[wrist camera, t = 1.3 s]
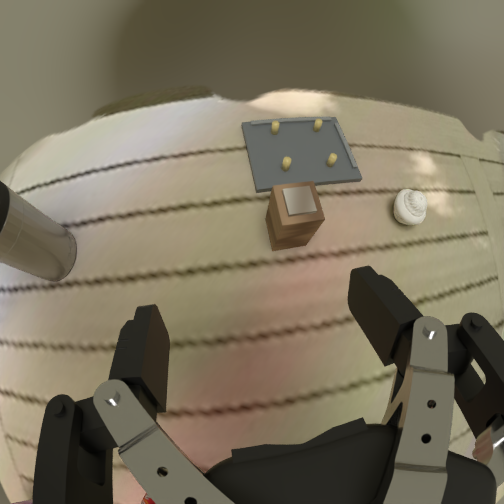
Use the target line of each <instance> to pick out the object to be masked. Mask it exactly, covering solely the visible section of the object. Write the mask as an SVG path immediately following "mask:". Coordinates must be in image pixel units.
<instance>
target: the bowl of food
mask: <svg viewBox="0 0 504 504" xmlns="http://www.w3.org/2000/svg"><path fill="white" fill-rule="evenodd" d="M11 504H33V499H32V500H27V501H22V502H16V503H11Z"/></svg>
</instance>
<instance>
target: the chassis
mask: <svg viewBox="0 0 504 504" xmlns="http://www.w3.org/2000/svg"><path fill="white" fill-rule="evenodd" d="M242 130H243V134H244V139H245V143H246V148H247V152H248V156H249V161H250V165H251V170H252V174H253V179H254V184H255V188H256V193H259V192H266V191H272V186H274V185H282V184H290V183H299V182H308V181H314V184H315V185H325V184H335V183H346V182H358V181H361V180H362V176H361V174H360V171H359V169H358V166H357V164H356V161H355V159H354V157H353V154H352V152H351V149H350V147H349V145H348V143H347V140H346V138H345V136H344V134H343V132H342V129H341V127H340V125H339V123H338V121H337V119H336V117H299V118H281V119H268V120H257V121H251V122H243V123H242Z"/></svg>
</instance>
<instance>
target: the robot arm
mask: <svg viewBox="0 0 504 504" xmlns="http://www.w3.org/2000/svg"><path fill="white" fill-rule="evenodd" d="M75 257H76V243H75V239H74V237H73V235H72V234H71V233H70V232H69V231H68V230H66V229H65V228H63V227H62V226H60V225H59V224H58V223H56V222H55V221H53V220H52V219H51V218H49V217H48V216H46V215H45V214H44V213H42V212H41V211H39V210H38V209H37V208H35V207H34V206H33V205H31V204H30V203H28V202H27V201H26V200H24V199H23V198H22V197H21V196H19V195H18V194H16V193H15V192H14V191H13V190H11V189H10V188H9V187H7V186H6V185H5V184H4V183H2V182H1V181H0V262H1V263H4V264H6V265H9V266H11V267H14V268H17V269H19V270H22V271H24V272H27V273H30V274H32V275H35V276H38V277H40V278H43V279H46V280H49V281H58V280H60V279H62V278H64V277H65V276H66V275H67V274H68V273H69V271H70V270H71V268H72V266H73V264H74V261H75ZM348 306H349V309H350V311H351V313H352V315H353V316H354V318H355V319H356V321H357V322H358V324H359V326H360V327H361V329H362V330H363V332H364V333H365V335H366V337H367V338H368V340H369V341H370V343H371V345H372V346H373V348H374V350H375V351H376V353H377V355H378V356H379V358H380V359H381V361H382V363H383V364H384V366H388V365H390V364H393V363H395V365H396V366H397V368H396V370H395V374H394V379H393V384H392V389H391V393H390V398H389V402H388V406H387V410H386V412H385V415H384V417H383V419H382V422H381V424H366V423H365V421H364V419H363V417H362V418H359V419H357V420H354V421H351V422H348V423H345V424H342V425H339V426H336V427H333V428H331V429H330V430H328V431H326V432H324V433H322V434H321V435H319V436H317V437H315V438H313V439H311V440H310V441H308V442H306V443H303V444H298V445H270V444H264V445H259V446H253V447H246V448H240V449H232V450H231V451H232V457H230V458H228V459H225V460H223V461H221V462H219V463H218V464H216V465H215V466H213V467H212V468H211V469H209V470H208V471H207V472H206V473H204V472H203V471H202V470H201V469H200V468H199V467H198V466H197V465H196V464H195V463H194V462H193V461H192V460H191V459H190V458H189V457H188V456H187V455H186V454H185V453H184V452H183V451H182V450H181V449H180V448H179V447H178V446H177V445H176V444H175V443H174V441H173V440H172V439H171V438H170V437H169V436H168V435H167V434H166V432H165V431H164V430H163V429H162V428H161V427H160V425H159V424H158V423H157V422H156V418H157V413H161V412H166V400H167V379H168V363H169V350H170V340H169V335H168V332H167V329H166V327H165V324H164V322H163V319H162V317H161V315H160V312H159V310H158V307H157V306H156V305H155V304H153V305H146V306H139V307H137V309H136V312H135V316H134V320H128V321H127V322H126V324H125V325H124V326H123V328H122V329H121V331H120V335H119V338H118V342H117V346H116V350H115V354H114V358H113V362H112V366H111V370H110V374H109V379H108V381H106V382H104V383H102V384H101V385H100V386H99V387H98V388H97V389H96V391H95V393H94V396H93V397H90V398H87V399H83V400H80V401H77V402H74V401H73V399H72V398H70V397H69V396H68V395H64V394H61V395H57V396H55V397H53V398H52V399H51V400H50V401H49V403H48V404H47V406H46V409H45V414H44V418H43V423H42V428H41V433H40V438H39V444H38V450H37V457H36V465H35V474H34V485H33V504H113V486H112V461H113V448H116V447H119V448H120V449H119V450H118V453H119V455H120V457H121V459H122V460H123V462H124V463H125V464H126V466H127V467H128V469H129V470H130V472H131V473H132V474H133V476H134V477H135V478H136V480H137V481H138V482H139V484H140V485H141V486H142V488H143V489H144V490H145V491H146V493H147V494H148V495H149V496H150V497H151V499H152V500H153V501H154V502H155V503H156V504H495V502H496V491H497V487H498V486H500V485H501V484H502V483H503V482H504V341H503V339H502V338H501V337H500V336H499V334H498V333H497V332H496V331H495V329H494V328H493V327H492V326H491V325H490V323H489V322H488V321H487V320H486V319H485V318H484V317H483V316H481V315H480V314H477V313H467V314H465V315H464V316H463V318H462V320H461V322H460V324H454V325H444V324H443V323H442V322H441V321H440V320H439V319H437V318H434V317H430V316H423V315H422V314H421V313H420V312H419V310H418V309H417V308H416V307H415V306H414V305H413V304H412V302H411V301H410V300H409V299H408V298H407V297H406V296H405V295H404V293H403V292H402V291H401V290H400V289H398V287H397V286H396V285H395V283H394V282H393V281H392V280H390V279H389V278H387V277H385V276H383V275H378V274H377V273H376V272H375V271H374V270H373V269H372V267H370V266H364V267H360V268H355V269H352V271H351V274H350V283H349V291H348ZM473 359H475V360H476V362H477V363H478V365H479V366H480V368H481V369H482V371H483V372H484V374H485V377H486V383H485V385H484V383H483V382H482V380H481V379H480V377H479V375H478V374H477V372H476V371H475V369H474V368H473V366H472V365H471V362H472V361H473ZM454 399H455V400H456V402H457V404H458V406H459V408H460V409H461V411H462V413H463V415H464V417H465V419H466V421H467V423H468V425H469V427H470V428H471V430H472V432H473V434H474V436H475V438H476V442H475V449H474V450H473V453H472V455H473V457H474V458H475V459H477V461H476V460H473V459H470V458H467V457H464V456H462V455H459V454H456V453H454V452H451V451H449V450H448V448H449V441H450V434H451V426H452V416H453V404H454Z"/></svg>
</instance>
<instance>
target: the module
mask: <svg viewBox="0 0 504 504" xmlns="http://www.w3.org/2000/svg"><path fill="white" fill-rule="evenodd" d="M324 220H325V217H324V214H323V211H322V207H321V204H320V200H319V197H318V194H317V191H316V187H315V184H314V181H308V182H299V183H290V184H282V185H274V186H272V191H271V196H270V200H269V205H268V210H267V215H266V223H267V228H268V233H269V237H270V242H271V247H272V251H276V250H282V249H288V248H294V247H300V246H306V245H307V243H308V242H309V240H310V239H311V238H312V236H313V235H314V234H315V232H316V231H317V230H318V228H319V227H320V225H321V224H322V223H323V221H324Z"/></svg>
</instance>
